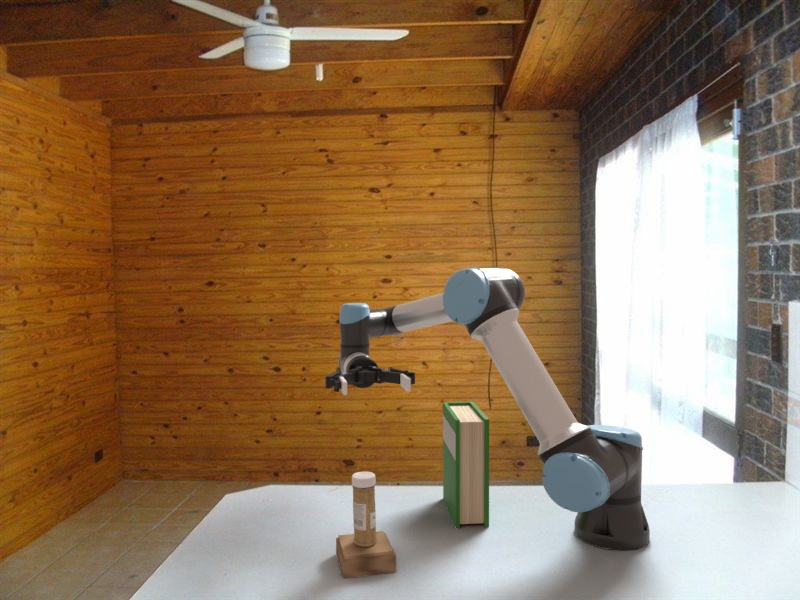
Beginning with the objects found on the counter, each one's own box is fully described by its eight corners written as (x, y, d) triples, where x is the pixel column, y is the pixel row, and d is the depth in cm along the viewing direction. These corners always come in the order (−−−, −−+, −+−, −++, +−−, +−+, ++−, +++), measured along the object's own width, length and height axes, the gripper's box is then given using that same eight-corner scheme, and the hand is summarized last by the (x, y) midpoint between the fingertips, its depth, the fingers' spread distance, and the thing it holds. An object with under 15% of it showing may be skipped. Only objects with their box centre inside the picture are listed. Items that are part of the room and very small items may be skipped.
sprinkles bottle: (381, 543, 122) (379, 475, 121) (360, 550, 120) (359, 479, 119) (369, 535, 126) (367, 469, 125) (349, 541, 124) (347, 473, 123)
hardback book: (489, 527, 139) (489, 419, 138) (455, 528, 139) (455, 420, 137) (472, 497, 157) (472, 401, 155) (443, 498, 156) (442, 402, 155)
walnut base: (385, 548, 129) (385, 529, 129) (396, 572, 119) (395, 551, 119) (336, 554, 127) (336, 534, 126) (343, 578, 117) (342, 557, 117)
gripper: (410, 383, 157) (434, 401, 137) (309, 388, 152) (318, 407, 131) (410, 352, 157) (434, 366, 136) (309, 357, 151) (317, 372, 131)
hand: (377, 386), depth 134 cm, fingers open, 13 cm apart
